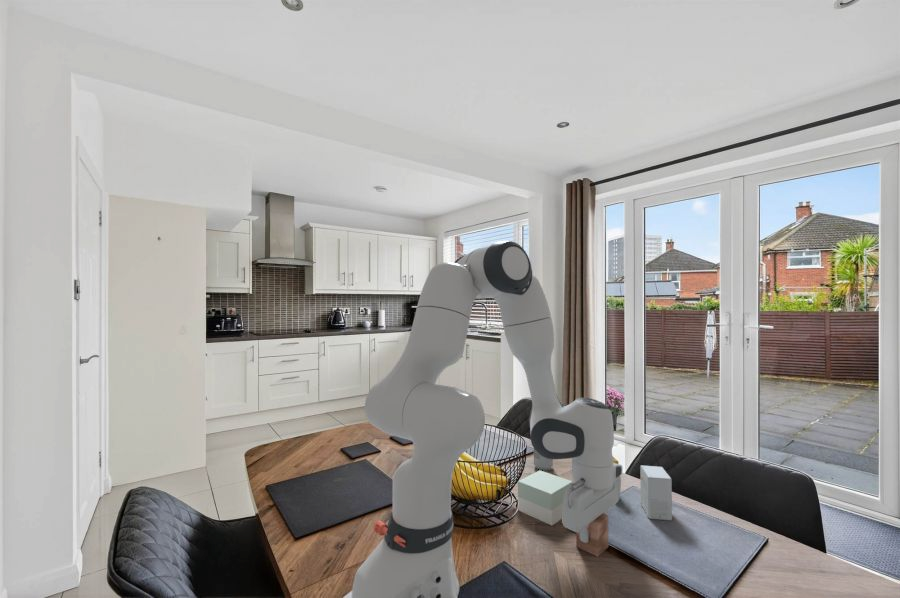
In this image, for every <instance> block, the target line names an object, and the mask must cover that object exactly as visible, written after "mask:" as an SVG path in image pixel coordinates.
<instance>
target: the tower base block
mask: <svg viewBox="0 0 900 598" xmlns="http://www.w3.org/2000/svg"><path fill="white" fill-rule="evenodd" d="M517 497H518V496H517ZM517 500H518V509H517V510H518V511H519V512H521V513H524V514H525V515H527V516H530V517H533V518H534V519H536V520H538V521H541V522H543V523H546V524H548V525H550V526H553V525H555V524H556V523H558V522H560V521H562V509H563V503H562V504H561V505H559V506H558V507H556V508H555V509H553V510H549V509H547V508H544V507H542V506H539V505H537V504H535V503H532V502H530V501H527V500H525V499H523V498H520V497H518V499H517Z"/></svg>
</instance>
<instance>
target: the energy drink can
mask: <svg viewBox="0 0 900 598" xmlns="http://www.w3.org/2000/svg"><path fill="white" fill-rule="evenodd" d="M553 461H554V459H548V458H545V457H543V456H541V455H540V454H538V453H537V452H536V450H535V449H534V448H533V465H534V466H535V469H536V468H537V470H538V469H539V470H541V471H542V470H543V471H544V472H548V471H550V470H552V467H554V465H553ZM539 470H538V471H539ZM547 470H548V471H547Z"/></svg>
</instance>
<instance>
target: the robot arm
mask: <svg viewBox="0 0 900 598" xmlns="http://www.w3.org/2000/svg"><path fill="white" fill-rule="evenodd" d="M486 298H487V299H489V298H490V299H491V298H492V299H493V300H495V302H496V304H497V305H498V307H499V309H500V310H499V311H500V317H501V322H502V327H503V330H504V331H503V333H504V335H505V339H506V341H507V343H508V346H509V349H510V351H511V354H512V355H513V357H515V358H516V360H517V361H519V363H520V365H521V366H522V368H523V369H524V373H525V376H526V380H527V385H528V390H529V393H530V398H531V409H530V413H529V417H528V418H529V419H528V420H529V421H528V422H529V428H530V430H529V431H530V433H529V434H530V442H531V446H532V448H533V450H534V449H535V450H536V452H537V453H538V454H540V455H541V456H543V457H545V458H548V459H553V460H564V459H566V460H567V459H571V479H572V481H573V484H571V485H570V489H568V490H567V491H566V493H565V495H564V500H563V509H562V519H561V523H562V525H563V527H564V528H565V529H566V530H567V529H568V530H570V531H572V532H574V533H576V532H580V540H581V541H582V542H585V543H587V542H588V541H589V540H590V533H589V532H588V530H587V528H588V527H589V524H590V523H591V522H592V521H594V520H595V519H596V518H598V517H599V516H600V515H602V514H606V515H608V510H609V509H611V508H612V507H613V506H615V505H616V504H617V503H618V502H619V500H620V496H621V487H622V486H621V485H622V484H621V483H622V478H621V477H622V476H621V475H623V465H622V464H619V463H618V464H617V463H614V459H613V457H614V455H613V446H614V444H615V436H614V435H615V434H614V433H615V430H614V418H613V414H612V410H611V409H610V408H609V407H608V406H607V405H606V404H605V403H603V402H602V401H599V400H597V399H594V398H589V397H577V398H576V399H575V400H574V401H572V402H571V403H569V404H567V405H565V406H564V405H563V404H562V402H561V401H560V399H559V397H558V393H557V390H556V387H555V386H556V385H555V381H554V375H553V372H552V363H551V361H552V354H553V351H554V348H555V333H554V326H553V325H554V324H553V319H552V315H551V311H550V306H549V304H548V300H547V298H546V295H545V292H544V290H543V287H542V285H541V283H540V281H539V279H538V278H537V277H536V276H535V275H533V269H532V263H531V260H530V257H529V255H528V253H527V252H526V250H525V248H523V247H522V246H521V245H520V244H519V243H517V242H515V241H510V240H503V241H496V242H494V243H492V244H491V245H487V246H483V247H479V248H476V249H474V250H472V251H471V252H469V253H467V254H465V255H463V256H460V257H459V258H457V259H456V260H455V261H453V262H452V261H448V262H447V261H446V262H440V263H437V264H435V265H434V266H432V268H431V269H430V270H429V272H428V275H427V277H426V279H425V282H424V284H423V287H422V290H421V292H420V295H419V298H418V301H417V306H416V308H415V309H416V310H415V314H414V317H413V322H412V324H411V325H412V326H411V329H410V331H409V336H408V340H407V343H406V346H405V347H404V351H403V352H402V354H401V356H400V357H399V359H398V361H397V362H396V363H395V365H394V367H393V368H392V369H391V370H390V372H389V373H387V375H386V376H384V377H383V378H382V379H380V380H379V381H377V382H376V383H374V385H372V386H371V388H370V389H369V390H368V393H367V394H366V398H365V402H364V413H365V417H366V419H367V421H368V423H369V424H370V425H372V426H374V427H375V428H376V429H377V430H380V431H382V432H383V433H385V434H387V435H390V436H393V437H396V438H401V439H405V440H408V441H411V442H412V444H413V451H412V456H411V458H409V459H406V460H405V461H404V462H402V463H401V464H400V465H399V466H398V467H397V468H396V470H395V472H393V473H394V474H393V476H392V511H391V513H390V516H389V519H388V521H387V524H386V523H384V522H383V521H382V520H377V521H376V522H375V523H374V525H373V531H374V532H375V533H377V534H378V535H379V536H383V537H384V538H383V539H382V540H381V541H380V542H379V543H378V544H377V545H376V547H375V548H374V549H373V550H372V552H371V553H370V554H369V556H368V557H367V558H366V559H365V561H363V562H362V564H361V565H360V566H359V568H358V569H357V570H356V573H355V575H354V578H353V584H352V590H350V591H349V592H348V593H347V594H346V595H344V596H343V597H342V598H458V596H459V593H460V583H459V580H458V576H457V573H456V572H457V571H456V568H455V562H454V561H455V560H454V555H453V554H454V553H453V541H452V537H453V534H454V515H453V514H454V513H453V511H452V508H451V505H452V504H451V503H452V482H453V481H452V479H453V474H454V470H455V467H456V465H457V463H458V460H459V459H460V458H461V456H462V455H463V454H464V453H465V452H466V451H468V450H470V449H471V448H472V447H474V446H475V445H476V443H478V441H479V440H480V438H481V436H482V434H483V432H484V429H485V425H486V416H485V410H484V406H483V405H482V402H481V400H480V399H479V398H478V397H477V396H476V395H474V394H472V393H470V392H467V391H465V390H462V389H460V388H457V387H455V386H454V387H453V386H450V385H449V386H447V385H443V384H436V382H437V380H438V378H440V376H441V374H442V372H443V371H444V370H446V369H447V368H448V367H451V366H453V365H455V364H456V363H458V362H459V361H460V359H461V358H462V356H463V354H464V353H465V352H464V351H465V345H466V341H467V335H468V332H469V331H468V330H469V325H470V320H471V315H472V308H473V305H474V302H475V301H476V300H481V299H486Z"/></svg>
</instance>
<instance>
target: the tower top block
mask: <svg viewBox="0 0 900 598" xmlns="http://www.w3.org/2000/svg"><path fill="white" fill-rule="evenodd" d="M573 483H574V481H573V480H569V479H568V478H563V477H561V476H558V475H555V474H552V473H549V472H547V471H542V470H537V471H536V472H534V473H531V474H529V475H527V476H526V477H524V478H522V479H520V480H518V481H517V497H520V498H523V499H525V500H527V501H530V502H532V503H535V504H537V505H539V506H542V507H544V508H547V509H549V510H553V509H555V508H556V507H558V506H559V505H561V504H562V503H563V500H564V495H565V493H566V491H567V490H568V489H570V485H571V484H573Z"/></svg>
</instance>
